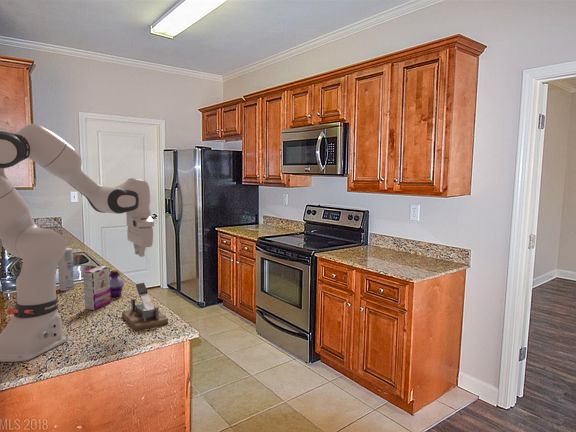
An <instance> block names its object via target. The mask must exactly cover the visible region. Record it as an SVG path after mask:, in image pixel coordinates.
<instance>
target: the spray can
mask: <svg viewBox="0 0 576 432" xmlns="http://www.w3.org/2000/svg"><path fill="white" fill-rule="evenodd" d="M73 252H74V250H73V248H72V247H67V248H66V251H65V253H64V255H63V256H62V257H61V258H60V260H59V262H58V266H57V270H58V283H59V284H58V285H59V291H61V292H62V291H63V292H64V291H72V290H73V289H75V281H74V279H75V277H74V258H73V257H74V255H73V254H74V253H73Z"/></svg>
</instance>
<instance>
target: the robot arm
mask: <svg viewBox="0 0 576 432" xmlns="http://www.w3.org/2000/svg"><path fill="white" fill-rule="evenodd" d="M27 159H29V160H31V161H33V162H34V163H36V165H38V166H40V167H41V168H43V169H44V170H45V171H47V172H49V173H50V174H52V175H53V176H55V177H57V178H59V179H62V180H63V181H65V182H66V183H67V184H68V185H69V186H71V187H72V188H74V189H75V190H76V191H78V192H79V193H80V194H81V195H82V196H84V197H85V198H86V200H87V201H88V203H89V205H90V207H91V208H92V209H93V210H94V211H96V212H98V213H108V214H118V215H119V214H126V226H127V231H126V232H127V241H128V242H130V243H132V244H133V248H134V254H135V255H137V256H139V257H140V258H141V257H142V258H143V257H145V255H146V254H145V253H146V249H147V248H151V247H152V246H153V243H154V228H153V227H155V222H154V220H153V217H152V216H151V215H152V214H151V209H150V204H151V191H150V185H149V183H148V182H147V181H146V180H144V179H140V178H134V177H133V178H132V177H131V178H128V179H126V181H124V182H123V183H121V184H119V185H117V186H114V187H110V186H109V187H108V186H106V185H105V186H104V185H101V184H99V183H97V182H95V181H94V180H93V179H92V178H91V177H89V176H88V175H87V174H86V173H85V172H84V171H83V170H82V168H81V167H82V163H83V161H82V155H80V153H79V151H77V150H76V149H75V147H73V146H72V145H71V144H70V143H68V142H67V141H66V140H64V139H63V138H62V137H60V136H59V135H57V134H56V133H55V132H53V131H51V130H50V129H48V128H46V127H44V126H43V125H41V124H39V123H29V124H27V125H25V126H23V127H22V128H21V129H20V130H19V131H17V132H11V131H8V130H6V129H4V128H1V127H0V240H1V245H2V248H3V249H4V250H5V252H7V253H8V254H10V255H11V256H13V257H15V258H20V259H21V260H22V265H21V271H20V274H19V276H17V277H16V280H15V285H16V287H15V288H16V303H15V307H14V308H13V307H9V308H8V307H7V309H6V314H7V315H12V316H13V317H12V318H11V320H9V322H8V324H7V325H6V326H5V327H4V328H3V330H2V331H1V333H0V363H2V362H5V363H7V362H8V363H11V362H12V363H16V362H17V363H18V362H23V361H24V362H25V361H29V360H31V359H34V358H36V357H38V356H40V355H42V354H44V353H45V352H48V351H49V350H52V349H54V348H56V347H58V346H60V345H62V344H64V343H66V342H67V340H68V339H67V337H66V336H65V334H64V329H63V328H64V327H63V323H62V317H61V315H60V313H59V311H58V309H59V299H58V296H57V292H56V291H57V286H56V282H57V281H56V275H57V270H58V262H59V260H60V258H61V257H62V256H63V255H64V253H65V251H66V248H68V246H67V241H66V238H65V237H64V236H63V235H62V234H60V233H59V232H57V231H56V230H53V229H52V228H51V229H50V228H45V227H39V226H38V225H36V223H35V222H34V221H33V219H32V216H31V214H30V206H29V204H28V203H27V202H26V200H25V199H24V197H23V196H22V195H21V194H20V192H19V191H18V190H17V189H16V187H15V186H14V184H12V182H11V181H10V179H9V178H8V176H7V175H6V172H5V169H8V168H11V167H13V166H16V165H17V164H19V163H21V162H23V161H24V160H27Z"/></svg>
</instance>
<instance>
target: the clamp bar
mask: <svg viewBox="0 0 576 432" xmlns="http://www.w3.org/2000/svg"><path fill="white" fill-rule="evenodd" d="M135 288H136V290H137V292H138V293H137V294H138V295H139V298H140V300H141V304H143V306H144V308H145V310H146V312H150V311H154V307H155V306H154V304H153V302H152V299H151V298H150V295H149V293H148V292H149V291H148V289H147V286H146V285H145V282H140V283H136V284H135Z"/></svg>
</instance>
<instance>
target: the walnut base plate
mask: <svg viewBox="0 0 576 432" xmlns="http://www.w3.org/2000/svg"><path fill="white" fill-rule="evenodd" d="M121 317H122V318H123V319H124V320H125V322H127V323H128V324H129V325H130V327H132V328H133V329H134V331H135V332H137V331H141V330H146V329H151V328H154V327H160V326H164V325H168V324H169V318H168V317H167V316H165V315H164V314H163V313H162V312H161V311H159V320H155V319H150V320H146V322H145V323H144V322H142V318H141V317H140V316H139V315H138V314H137V313H135V312H132V311H131V309H130V310H123V311H122V312H121Z"/></svg>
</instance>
